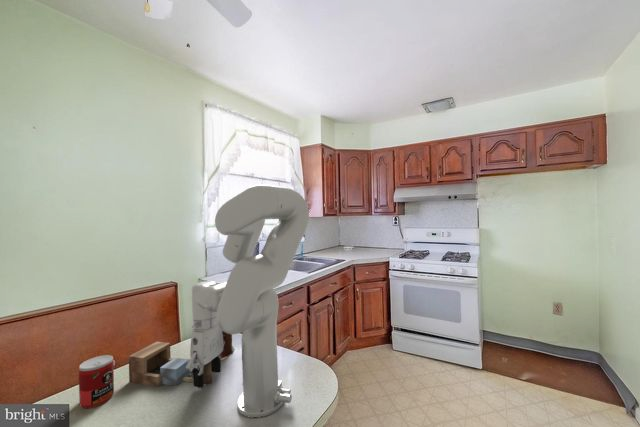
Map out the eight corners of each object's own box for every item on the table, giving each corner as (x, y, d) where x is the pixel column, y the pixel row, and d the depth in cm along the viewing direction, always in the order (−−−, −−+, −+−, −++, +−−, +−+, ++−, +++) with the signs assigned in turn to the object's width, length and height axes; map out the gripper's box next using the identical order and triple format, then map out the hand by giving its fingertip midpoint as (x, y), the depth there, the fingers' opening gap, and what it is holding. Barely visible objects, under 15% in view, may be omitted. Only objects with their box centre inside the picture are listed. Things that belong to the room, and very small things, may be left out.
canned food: (94, 410, 72) (93, 369, 72) (71, 407, 74) (70, 367, 74) (120, 392, 80) (120, 355, 80) (99, 390, 81) (98, 354, 82)
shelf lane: (184, 368, 91) (183, 344, 92) (158, 387, 81) (157, 360, 82) (157, 364, 95) (156, 341, 95) (129, 381, 85) (128, 356, 85)
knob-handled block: (217, 377, 85) (216, 358, 85) (204, 389, 79) (204, 369, 79) (175, 372, 89) (174, 354, 89) (160, 383, 83) (160, 364, 83)
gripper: (195, 334, 74) (197, 399, 73) (232, 313, 90) (234, 365, 90) (174, 332, 76) (175, 395, 75) (214, 311, 92) (216, 363, 92)
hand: (207, 378), depth 83 cm, fingers open, 7 cm apart
